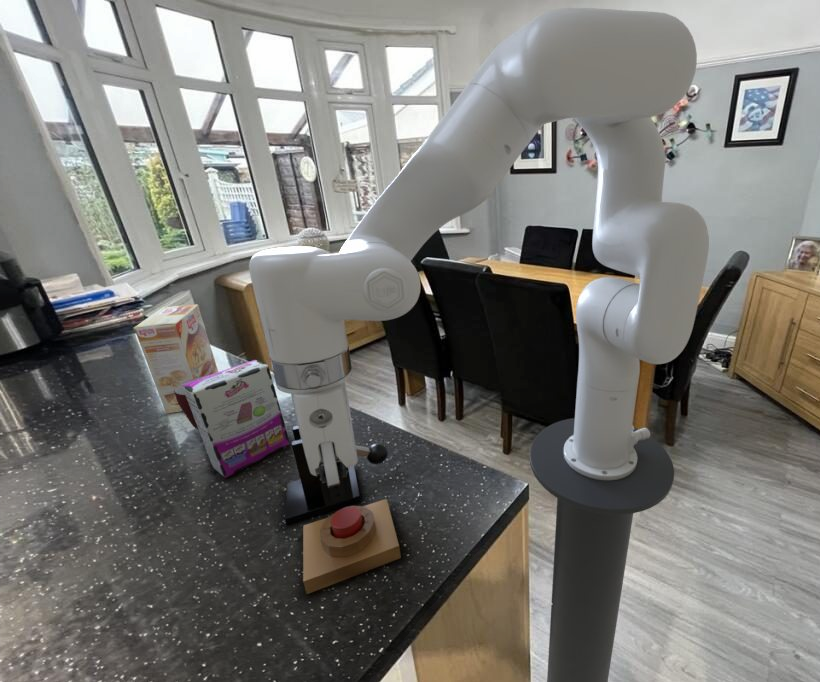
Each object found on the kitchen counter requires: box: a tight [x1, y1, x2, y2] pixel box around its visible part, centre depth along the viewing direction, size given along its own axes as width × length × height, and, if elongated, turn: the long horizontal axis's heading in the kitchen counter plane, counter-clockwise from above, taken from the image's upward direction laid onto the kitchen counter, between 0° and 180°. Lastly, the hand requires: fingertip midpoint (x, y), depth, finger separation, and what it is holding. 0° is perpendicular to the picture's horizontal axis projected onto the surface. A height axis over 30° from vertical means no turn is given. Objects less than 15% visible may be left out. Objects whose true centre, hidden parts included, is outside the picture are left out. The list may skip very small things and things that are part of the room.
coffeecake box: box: [133, 303, 219, 415], centre depth 86 cm, size 15×7×20 cm, turn 22°
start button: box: [331, 506, 363, 539], centre depth 51 cm, size 4×4×2 cm
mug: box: [174, 375, 209, 431], centre depth 77 cm, size 11×8×10 cm
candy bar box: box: [182, 359, 291, 479], centre depth 67 cm, size 11×5×16 cm, turn 147°
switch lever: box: [300, 439, 388, 465], centre depth 60 cm, size 13×3×3 cm
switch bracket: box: [284, 425, 362, 526], centre depth 59 cm, size 10×8×12 cm
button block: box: [302, 498, 402, 595], centre depth 52 cm, size 11×9×4 cm
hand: (339, 498), depth 49 cm, fingers closed
